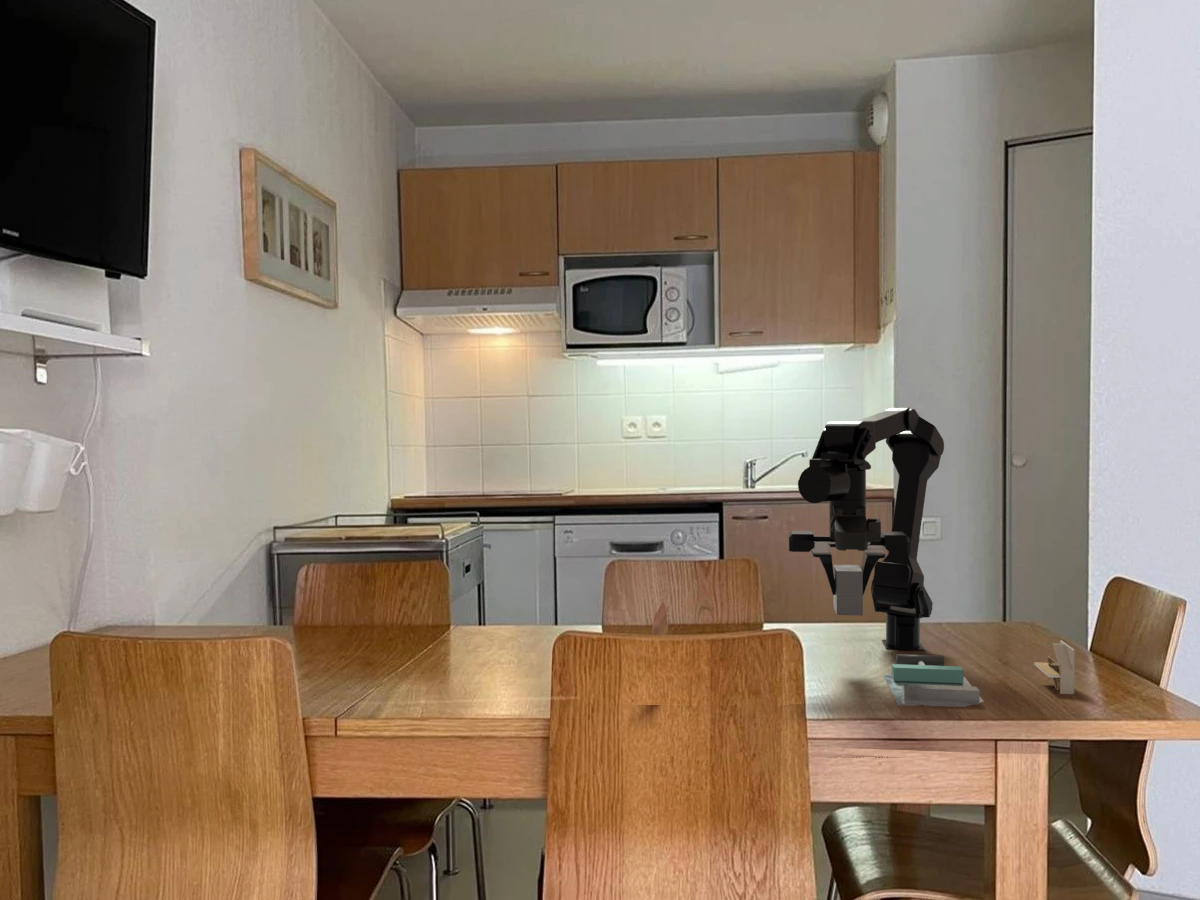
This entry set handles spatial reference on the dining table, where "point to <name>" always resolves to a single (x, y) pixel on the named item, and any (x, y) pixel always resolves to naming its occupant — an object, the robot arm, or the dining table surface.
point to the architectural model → (1060, 668)
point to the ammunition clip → (660, 621)
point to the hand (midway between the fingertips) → (847, 594)
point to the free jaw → (925, 669)
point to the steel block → (848, 590)
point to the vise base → (899, 690)
